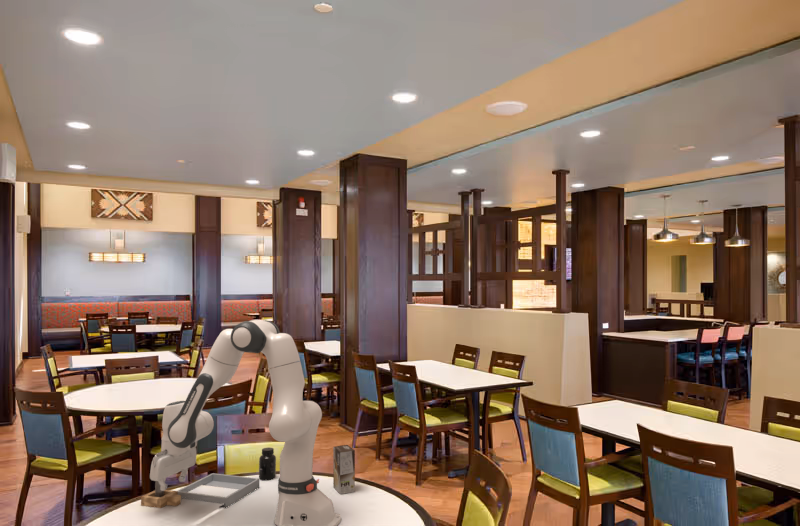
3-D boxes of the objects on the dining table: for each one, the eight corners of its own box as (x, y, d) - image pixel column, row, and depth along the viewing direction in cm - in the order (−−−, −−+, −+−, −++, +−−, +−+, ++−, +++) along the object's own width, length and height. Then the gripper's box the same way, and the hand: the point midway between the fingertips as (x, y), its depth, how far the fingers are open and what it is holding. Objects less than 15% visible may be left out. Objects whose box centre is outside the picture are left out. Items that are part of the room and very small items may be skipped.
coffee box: (355, 492, 213) (355, 450, 214) (339, 494, 211) (340, 452, 212) (347, 484, 222) (347, 444, 223) (332, 487, 219) (332, 446, 220)
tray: (259, 487, 218) (259, 478, 219) (226, 508, 198) (226, 498, 198) (212, 481, 225) (212, 473, 225) (175, 501, 204) (175, 491, 204)
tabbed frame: (186, 500, 201) (186, 492, 201) (170, 509, 192) (170, 500, 193) (158, 496, 204) (158, 488, 205) (140, 505, 196) (141, 496, 196)
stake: (178, 503, 202) (178, 477, 202) (160, 512, 193) (161, 485, 194) (158, 500, 205) (158, 474, 205) (139, 509, 196) (140, 482, 197)
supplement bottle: (255, 479, 228) (256, 450, 228) (264, 474, 234) (264, 446, 235) (270, 481, 226) (270, 451, 226) (278, 476, 232) (279, 447, 233)
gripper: (161, 455, 188) (159, 496, 187) (199, 440, 207) (198, 477, 206) (146, 453, 189) (144, 494, 189) (186, 438, 209) (184, 475, 208)
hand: (173, 485), depth 198 cm, fingers open, 8 cm apart
